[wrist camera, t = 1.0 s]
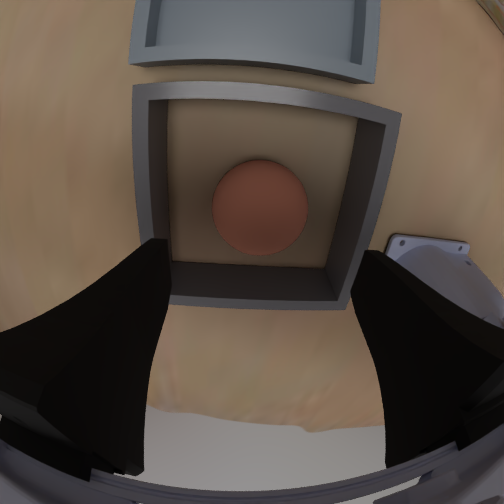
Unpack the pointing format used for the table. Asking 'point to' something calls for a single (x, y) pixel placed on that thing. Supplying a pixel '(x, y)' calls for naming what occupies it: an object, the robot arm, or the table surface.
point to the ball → (260, 207)
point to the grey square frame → (263, 277)
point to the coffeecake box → (494, 11)
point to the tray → (260, 35)
